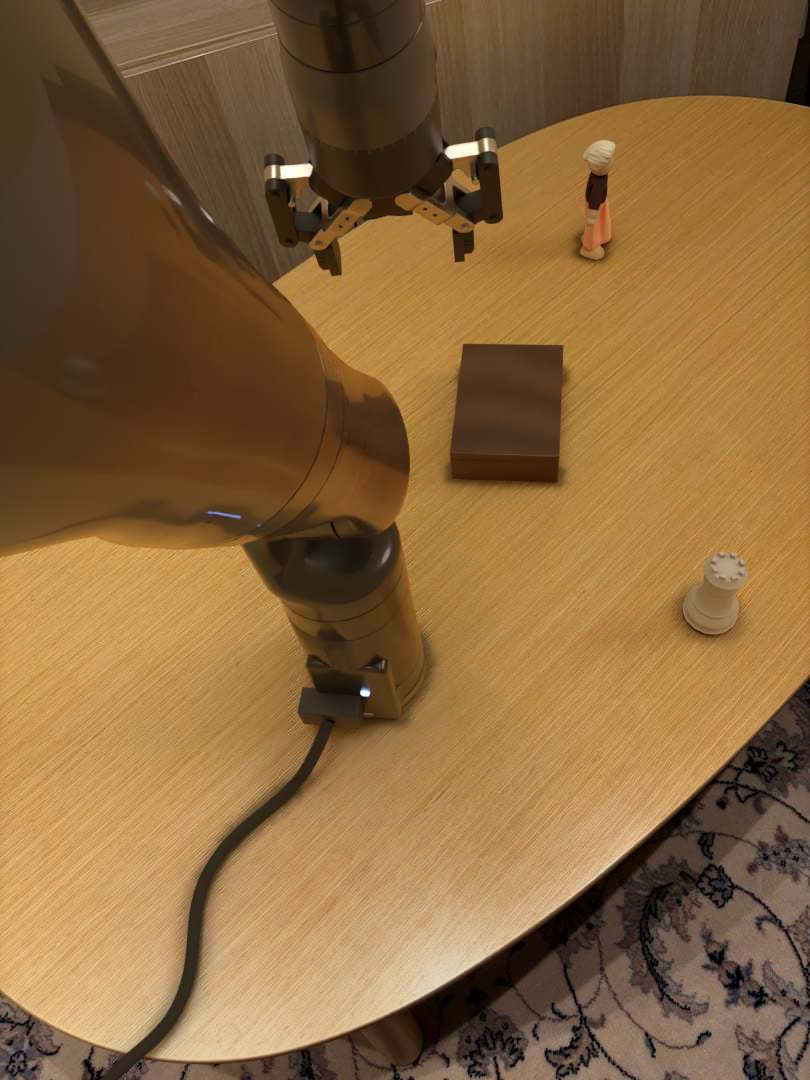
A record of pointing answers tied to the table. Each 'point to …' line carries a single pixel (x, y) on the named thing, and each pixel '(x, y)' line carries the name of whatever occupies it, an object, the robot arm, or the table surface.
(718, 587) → the rook chess piece
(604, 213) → the grandmother figurine
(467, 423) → the walnut box
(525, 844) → the table surface
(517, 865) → the table surface
